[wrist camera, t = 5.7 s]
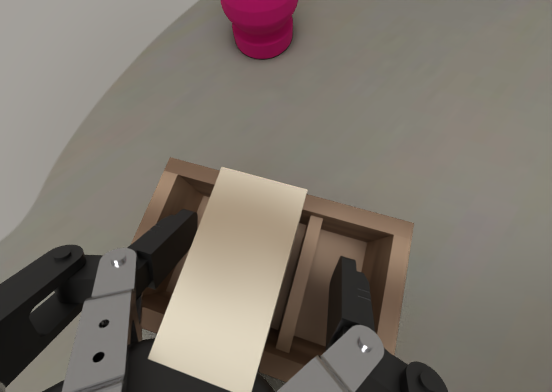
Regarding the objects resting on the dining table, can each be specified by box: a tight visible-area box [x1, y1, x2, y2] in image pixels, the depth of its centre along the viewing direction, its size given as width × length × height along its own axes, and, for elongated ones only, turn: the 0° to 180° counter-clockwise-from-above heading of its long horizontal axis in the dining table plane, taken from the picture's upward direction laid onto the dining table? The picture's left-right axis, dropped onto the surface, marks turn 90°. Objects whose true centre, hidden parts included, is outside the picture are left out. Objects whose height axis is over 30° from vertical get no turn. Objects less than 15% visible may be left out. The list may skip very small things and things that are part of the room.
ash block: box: [148, 167, 307, 392], centre depth 13 cm, size 6×3×12 cm, turn 163°
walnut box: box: [131, 157, 414, 382], centre depth 17 cm, size 10×16×6 cm, turn 73°
